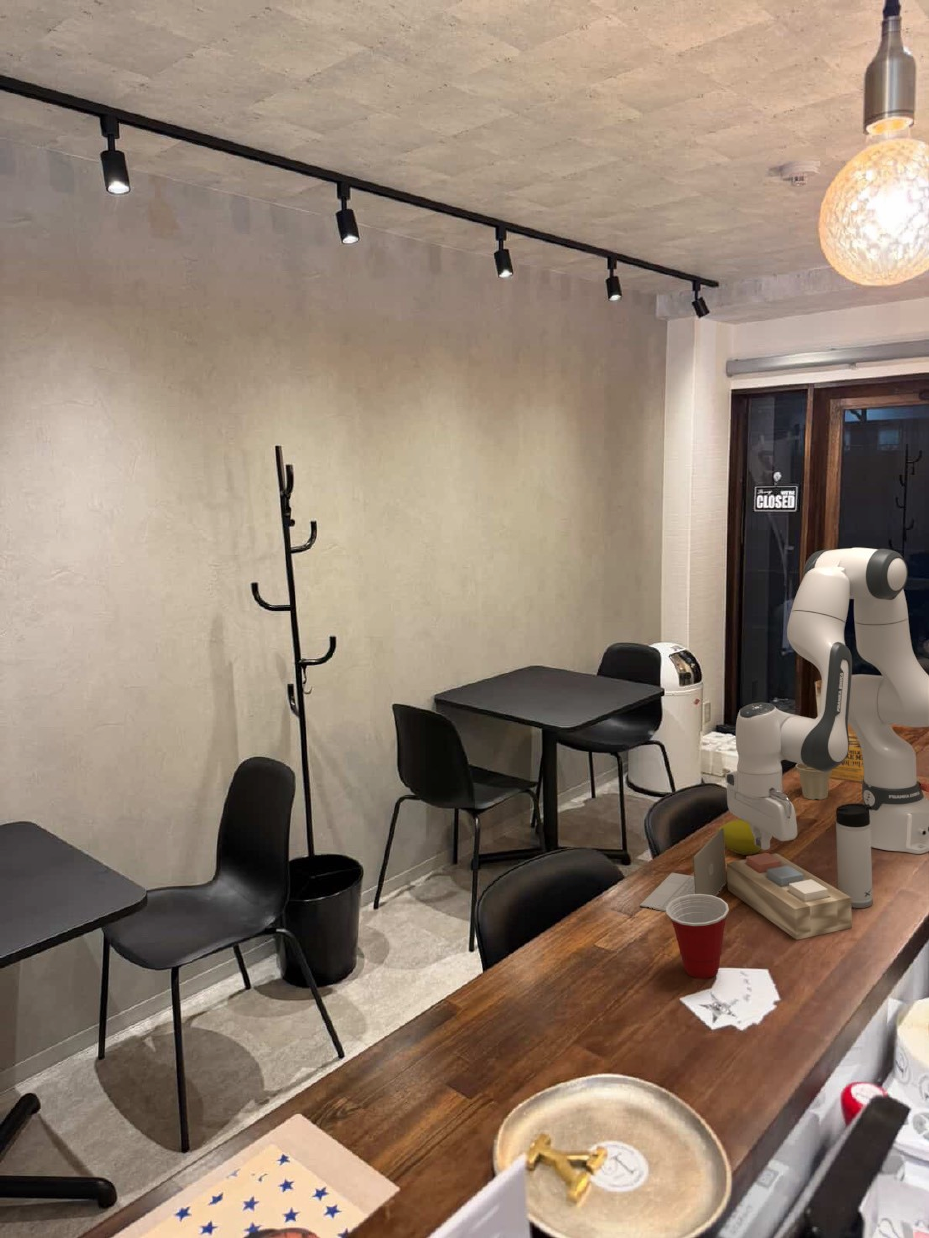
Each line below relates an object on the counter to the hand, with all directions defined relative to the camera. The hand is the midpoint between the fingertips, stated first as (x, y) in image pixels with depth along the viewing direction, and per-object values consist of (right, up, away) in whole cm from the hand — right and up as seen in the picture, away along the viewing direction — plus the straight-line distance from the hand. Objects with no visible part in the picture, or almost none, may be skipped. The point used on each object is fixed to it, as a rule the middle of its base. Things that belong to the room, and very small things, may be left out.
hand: (762, 847), depth 183 cm
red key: (+1, -5, +1) cm, 6 cm away
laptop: (-15, -12, +4) cm, 20 cm away
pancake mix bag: (+49, +2, +70) cm, 85 cm away
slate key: (+2, -6, -6) cm, 9 cm away
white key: (+4, -7, -14) cm, 16 cm away
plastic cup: (-20, -15, -27) cm, 37 cm away
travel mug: (+17, -10, -6) cm, 20 cm away
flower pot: (+34, -1, +57) cm, 66 cm away
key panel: (+3, -11, -6) cm, 12 cm away
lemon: (+3, -8, +23) cm, 24 cm away
